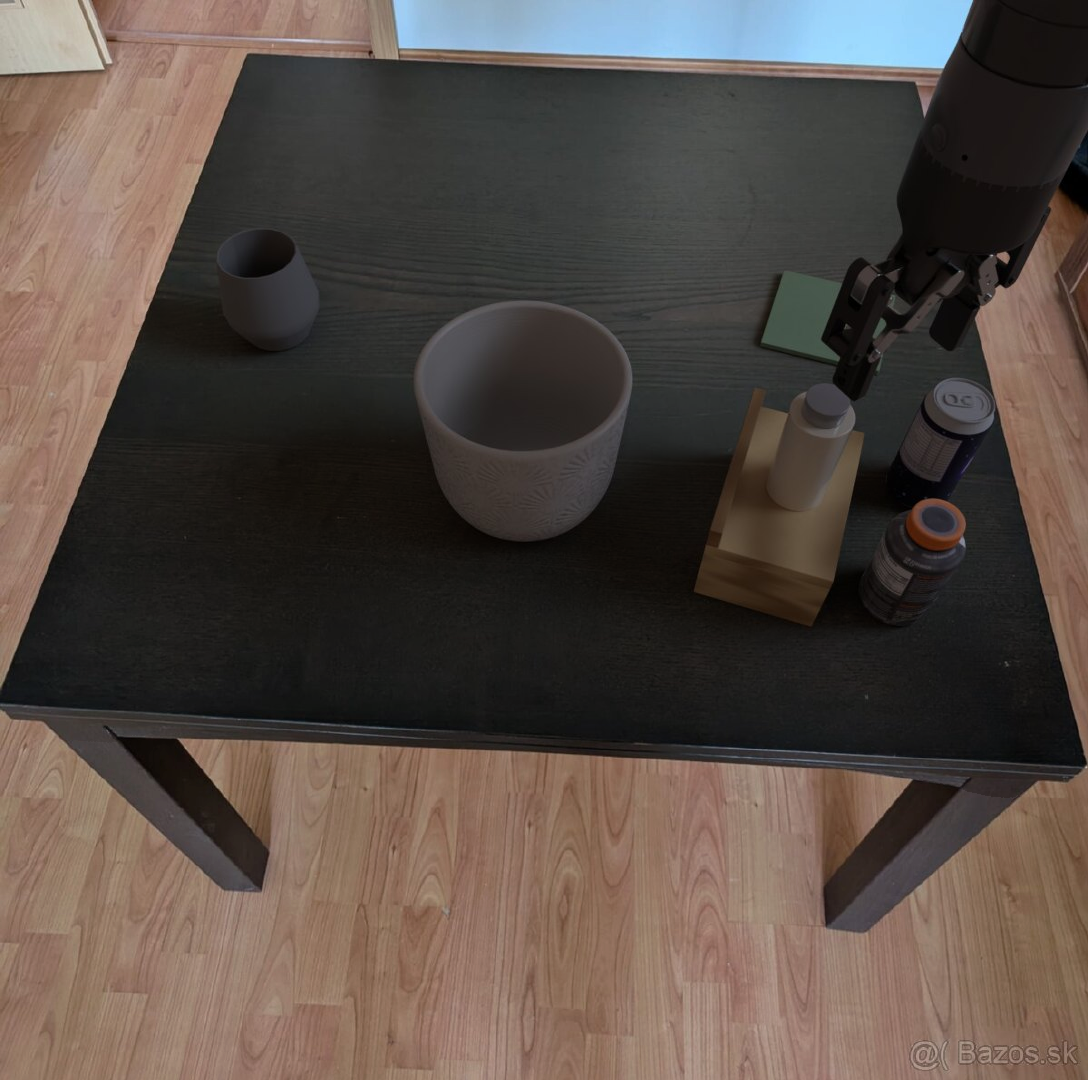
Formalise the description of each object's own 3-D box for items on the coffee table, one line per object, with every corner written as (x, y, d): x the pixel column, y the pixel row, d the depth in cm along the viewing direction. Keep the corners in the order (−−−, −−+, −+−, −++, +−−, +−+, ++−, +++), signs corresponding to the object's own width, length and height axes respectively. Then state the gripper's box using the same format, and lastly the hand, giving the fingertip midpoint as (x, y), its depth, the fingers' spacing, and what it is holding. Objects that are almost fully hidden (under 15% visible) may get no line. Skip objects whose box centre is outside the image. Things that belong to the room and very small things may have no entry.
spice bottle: (829, 474, 77) (866, 384, 69) (819, 518, 75) (856, 430, 66) (772, 459, 78) (801, 368, 70) (760, 502, 76) (788, 413, 67)
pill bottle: (930, 576, 80) (982, 496, 71) (927, 635, 77) (981, 559, 67) (859, 561, 81) (901, 479, 72) (853, 618, 78) (896, 540, 68)
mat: (893, 299, 100) (895, 295, 100) (877, 375, 94) (879, 371, 93) (782, 274, 102) (784, 269, 102) (759, 346, 96) (760, 342, 95)
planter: (639, 554, 81) (658, 438, 69) (445, 586, 79) (428, 473, 67) (594, 411, 91) (603, 286, 78) (420, 437, 88) (401, 313, 76)
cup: (345, 328, 97) (327, 249, 89) (276, 378, 93) (251, 300, 84) (283, 289, 100) (261, 209, 92) (214, 336, 96) (184, 256, 88)
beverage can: (949, 519, 83) (1004, 429, 74) (884, 511, 84) (930, 421, 74) (944, 470, 87) (996, 378, 77) (881, 463, 87) (925, 370, 77)
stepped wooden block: (843, 483, 86) (872, 416, 78) (811, 627, 77) (840, 567, 70) (736, 454, 88) (754, 387, 80) (693, 592, 79) (709, 530, 72)
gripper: (953, 222, 44) (855, 447, 57) (1149, 131, 48) (1016, 360, 62) (842, 142, 47) (775, 372, 61) (1035, 64, 52) (932, 295, 65)
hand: (896, 366), depth 61 cm, fingers open, 8 cm apart
